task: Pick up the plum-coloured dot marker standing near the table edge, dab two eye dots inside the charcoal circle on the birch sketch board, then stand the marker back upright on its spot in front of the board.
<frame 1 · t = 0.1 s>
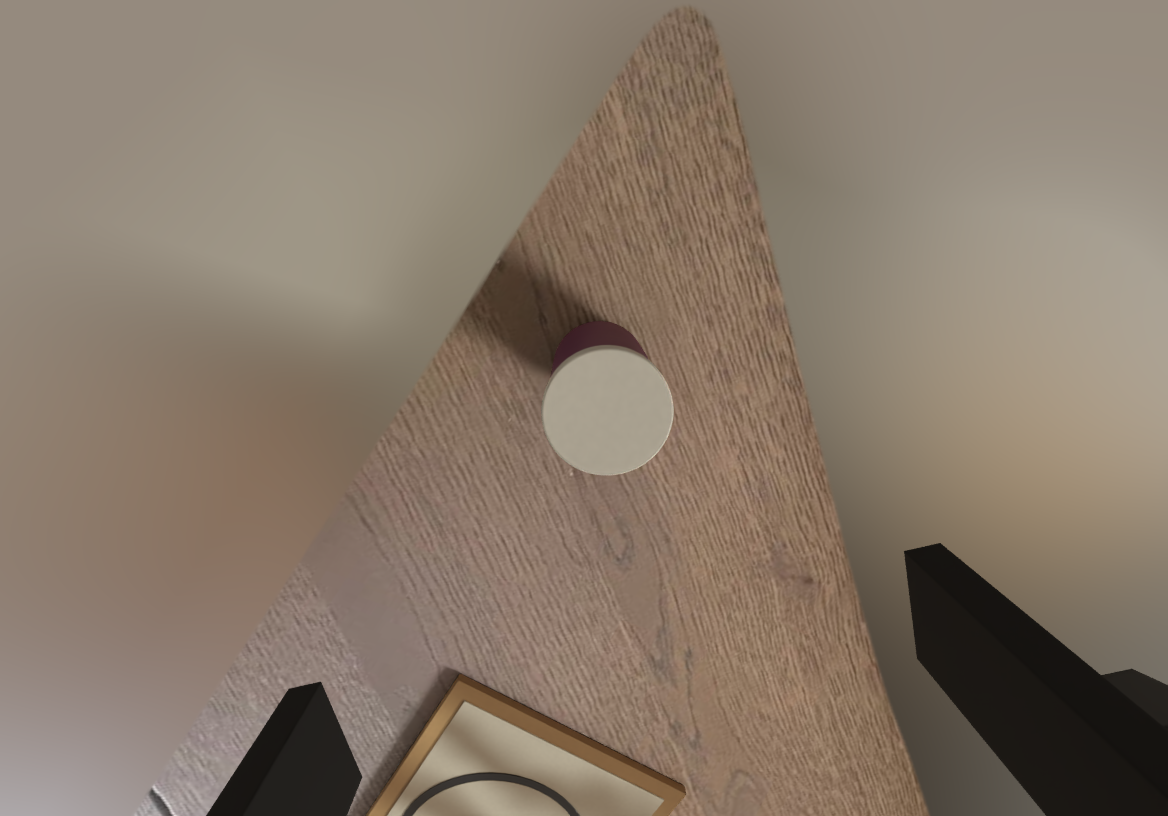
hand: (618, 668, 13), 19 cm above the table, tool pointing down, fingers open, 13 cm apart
dot marker: (598, 360, 30), on the table
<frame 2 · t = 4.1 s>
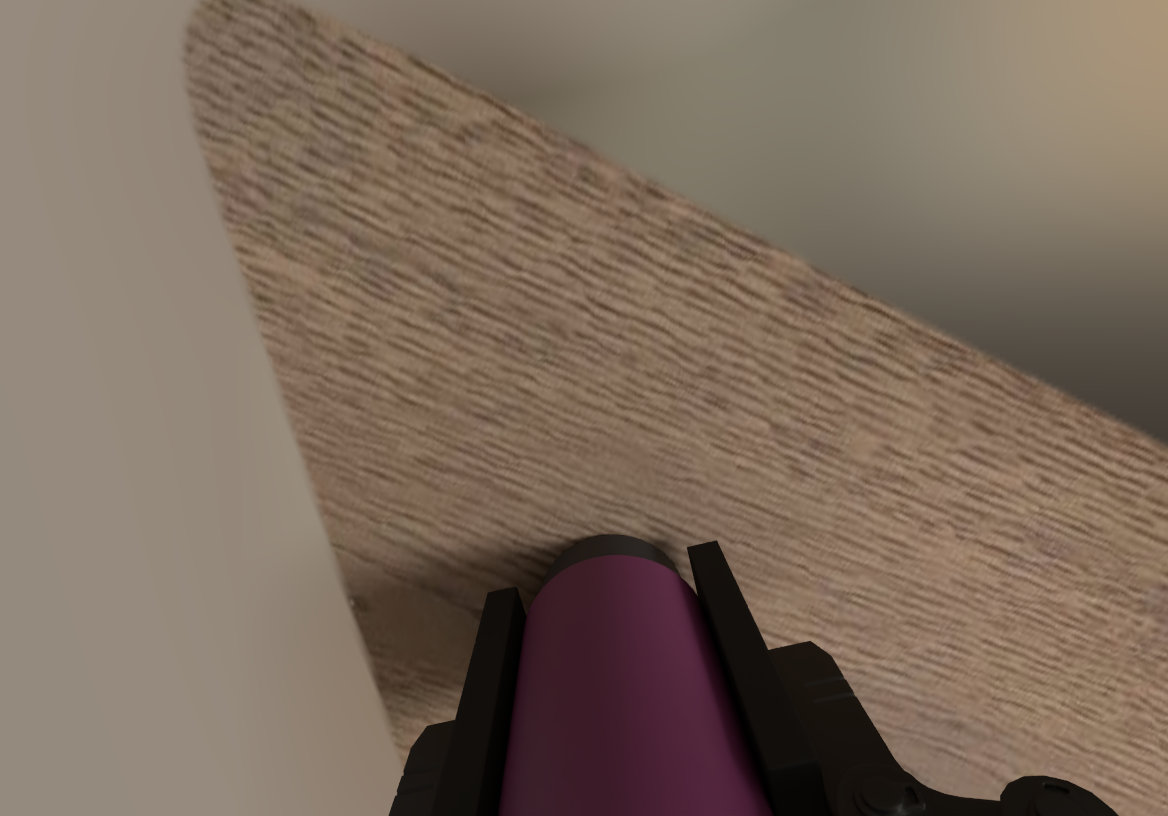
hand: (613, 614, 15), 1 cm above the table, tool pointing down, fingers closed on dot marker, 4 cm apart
dot marker: (612, 598, 16), on the table, touching gripper
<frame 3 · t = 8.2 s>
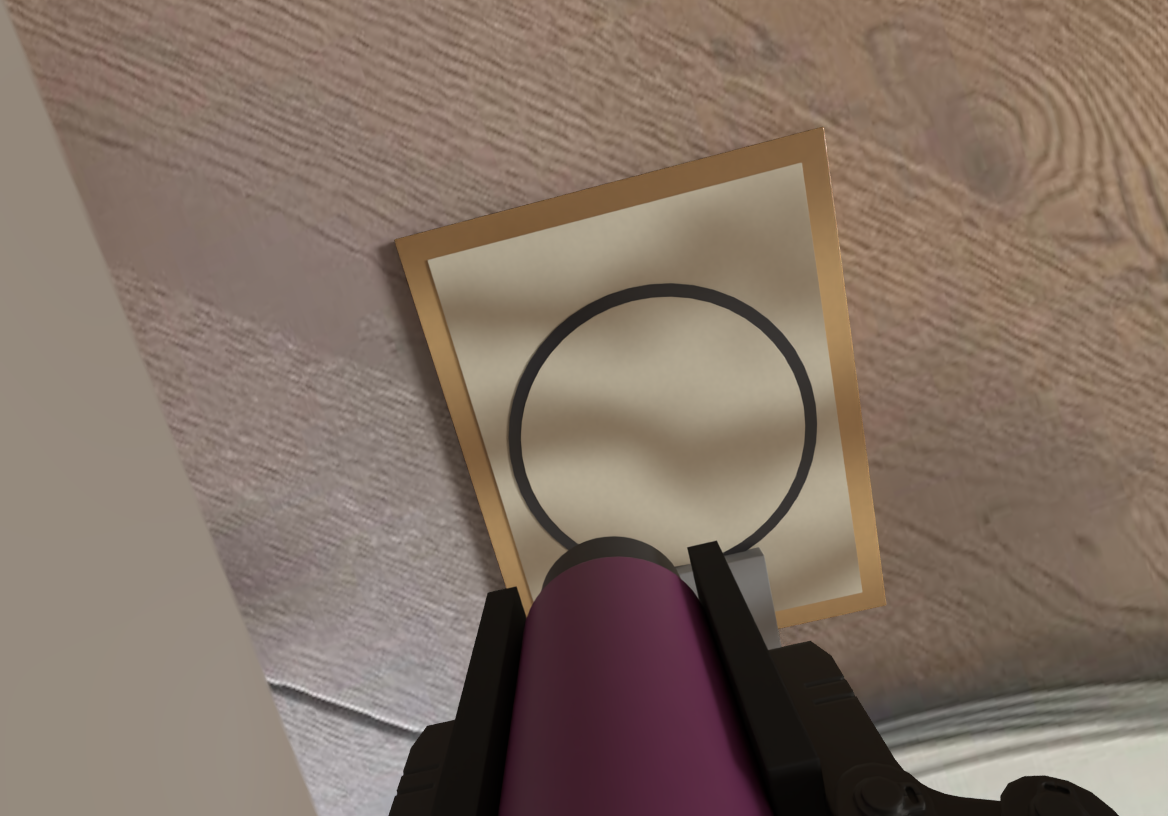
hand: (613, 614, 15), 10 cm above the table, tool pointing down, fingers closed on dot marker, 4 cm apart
dot marker: (612, 600, 16), point 10 cm above the table, touching gripper
sketch board: (660, 434, 25), on the table
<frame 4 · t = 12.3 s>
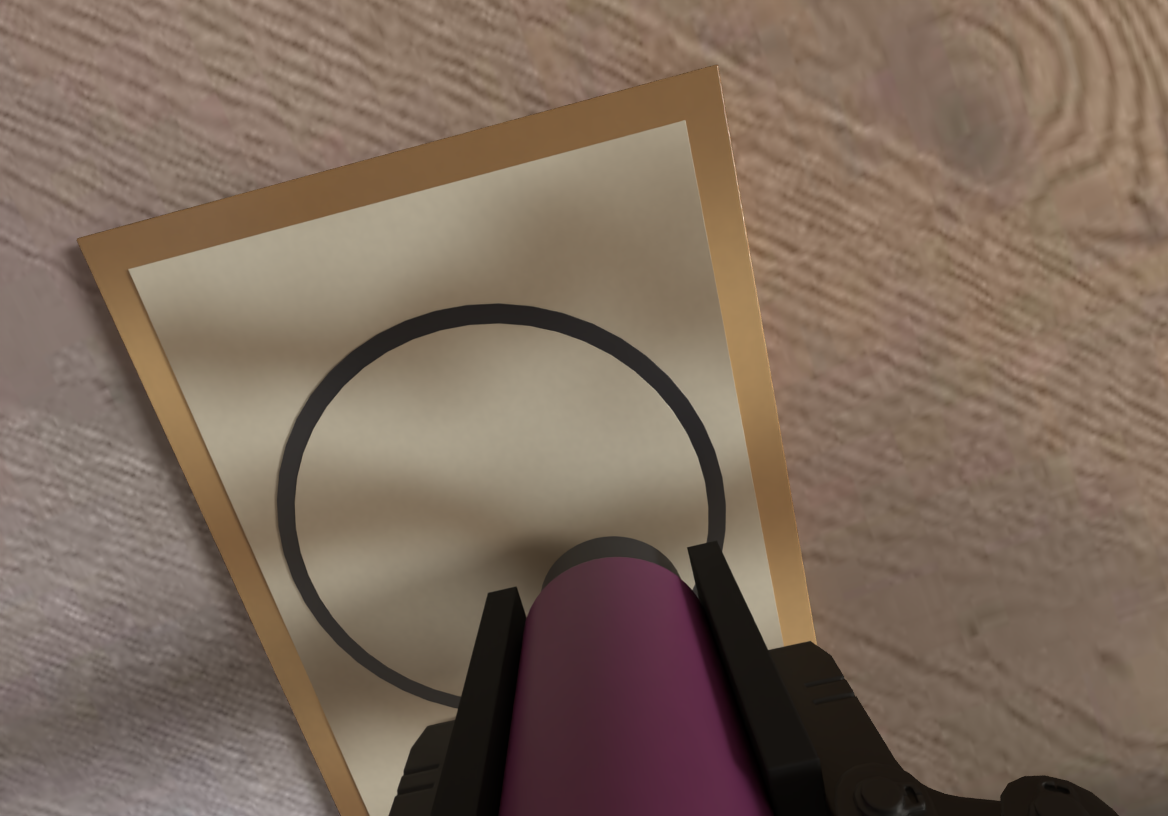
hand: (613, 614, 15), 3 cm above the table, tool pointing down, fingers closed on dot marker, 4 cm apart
dot marker: (612, 600, 16), point 2 cm above the table, touching gripper
sketch board: (506, 516, 17), on the table
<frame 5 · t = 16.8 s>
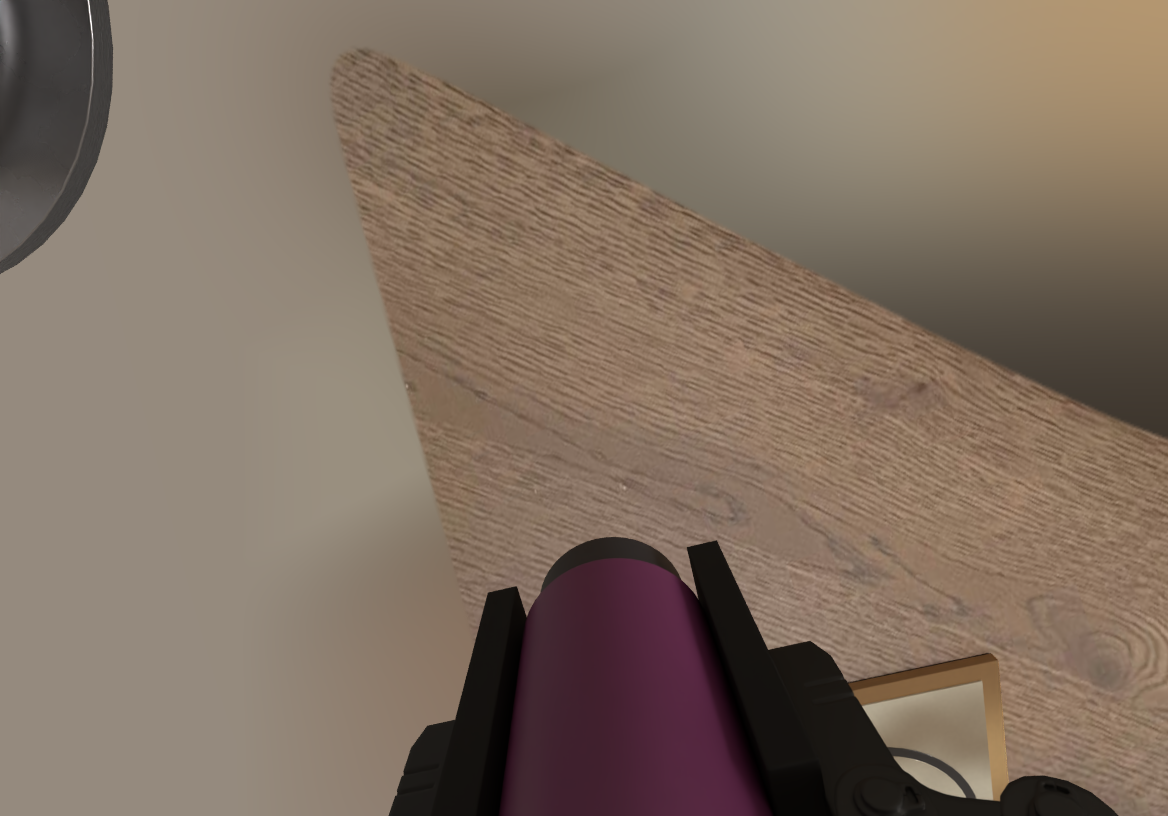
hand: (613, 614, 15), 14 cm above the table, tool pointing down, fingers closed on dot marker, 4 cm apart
dot marker: (612, 601, 16), point 14 cm above the table, touching gripper
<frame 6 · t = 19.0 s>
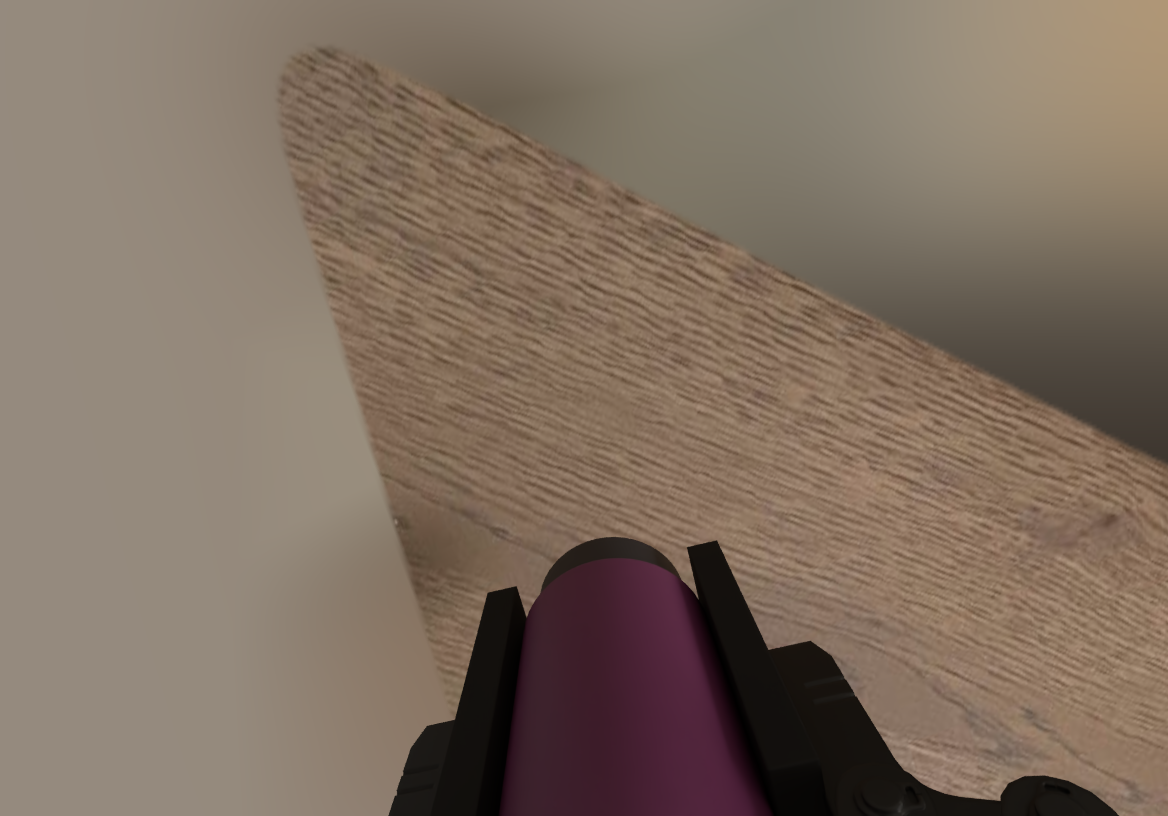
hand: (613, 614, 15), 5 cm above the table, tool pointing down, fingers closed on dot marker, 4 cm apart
dot marker: (612, 601, 16), point 5 cm above the table, touching gripper
when the fingers open (0 cm above the table, at t = 20.4 s): dot marker stays where it is, on the table.
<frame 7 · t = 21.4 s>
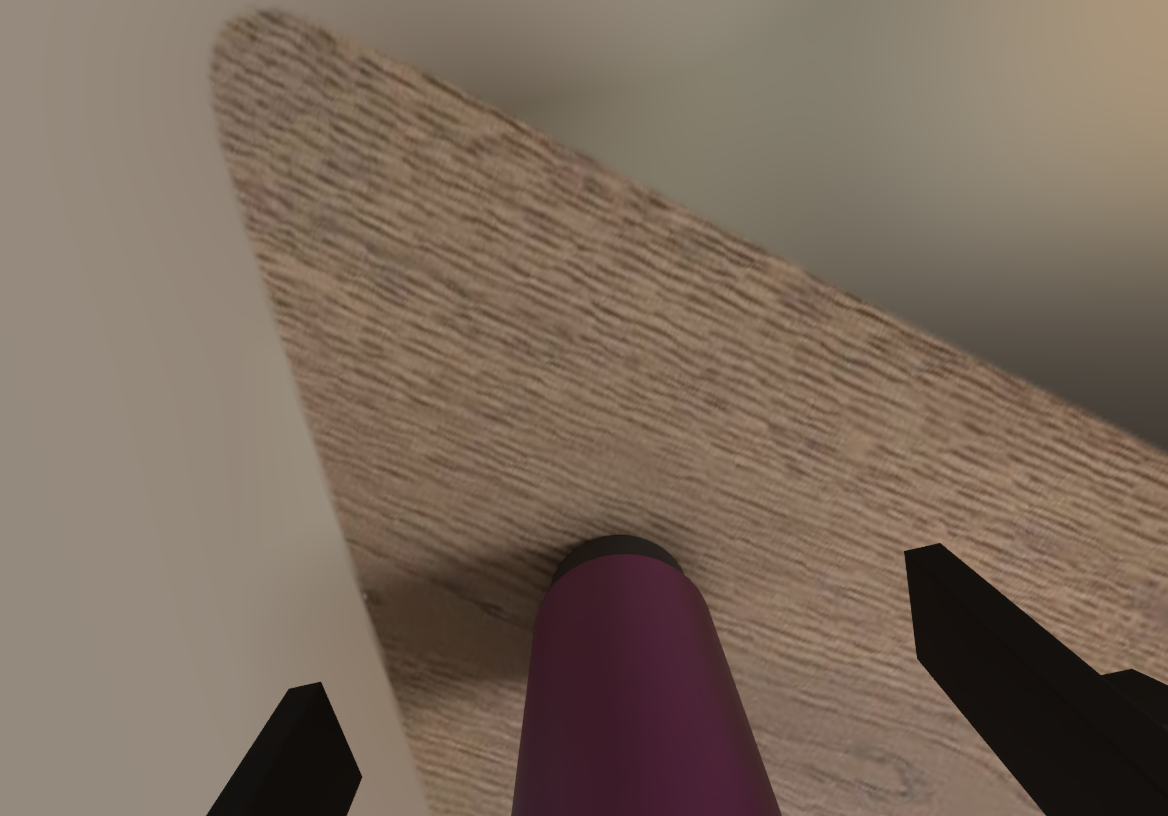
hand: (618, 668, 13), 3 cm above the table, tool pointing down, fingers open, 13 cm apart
dot marker: (618, 596, 16), on the table
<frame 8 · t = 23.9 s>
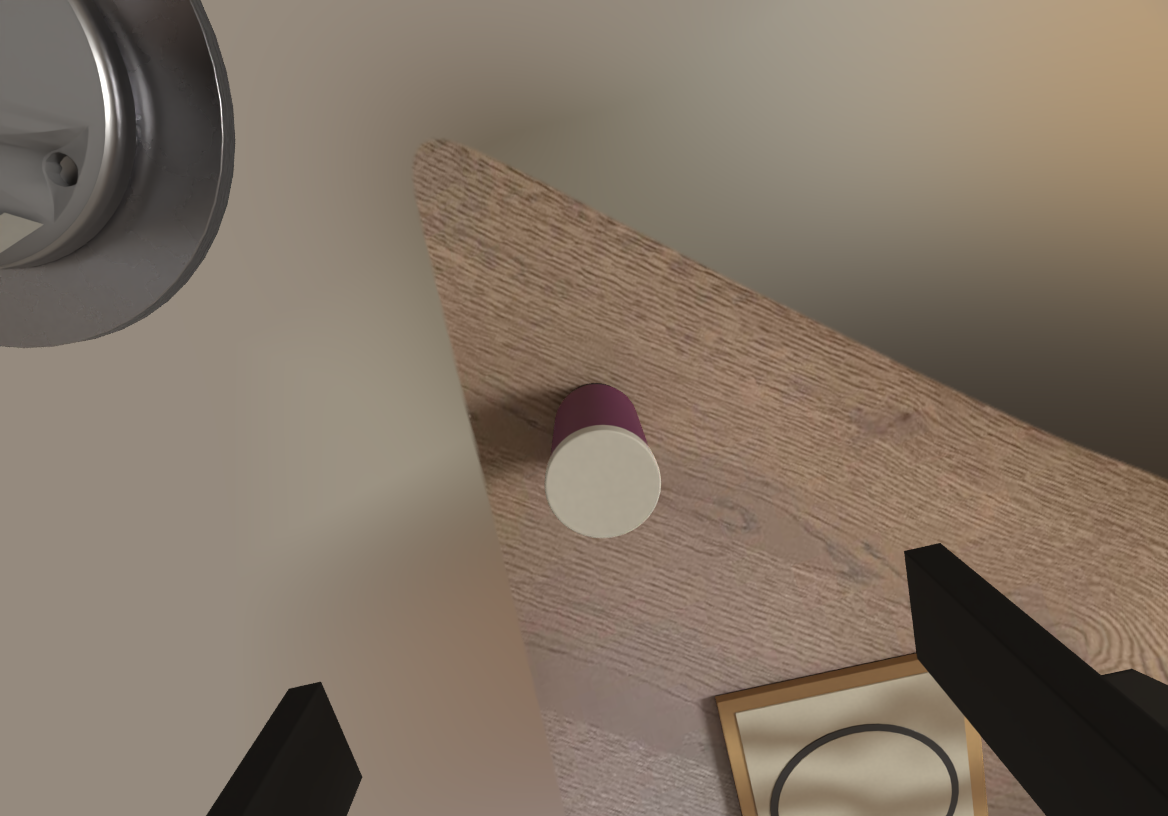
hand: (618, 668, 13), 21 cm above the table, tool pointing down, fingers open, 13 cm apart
dot marker: (595, 416, 33), on the table
sketch board: (859, 791, 40), on the table
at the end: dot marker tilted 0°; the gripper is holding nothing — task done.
